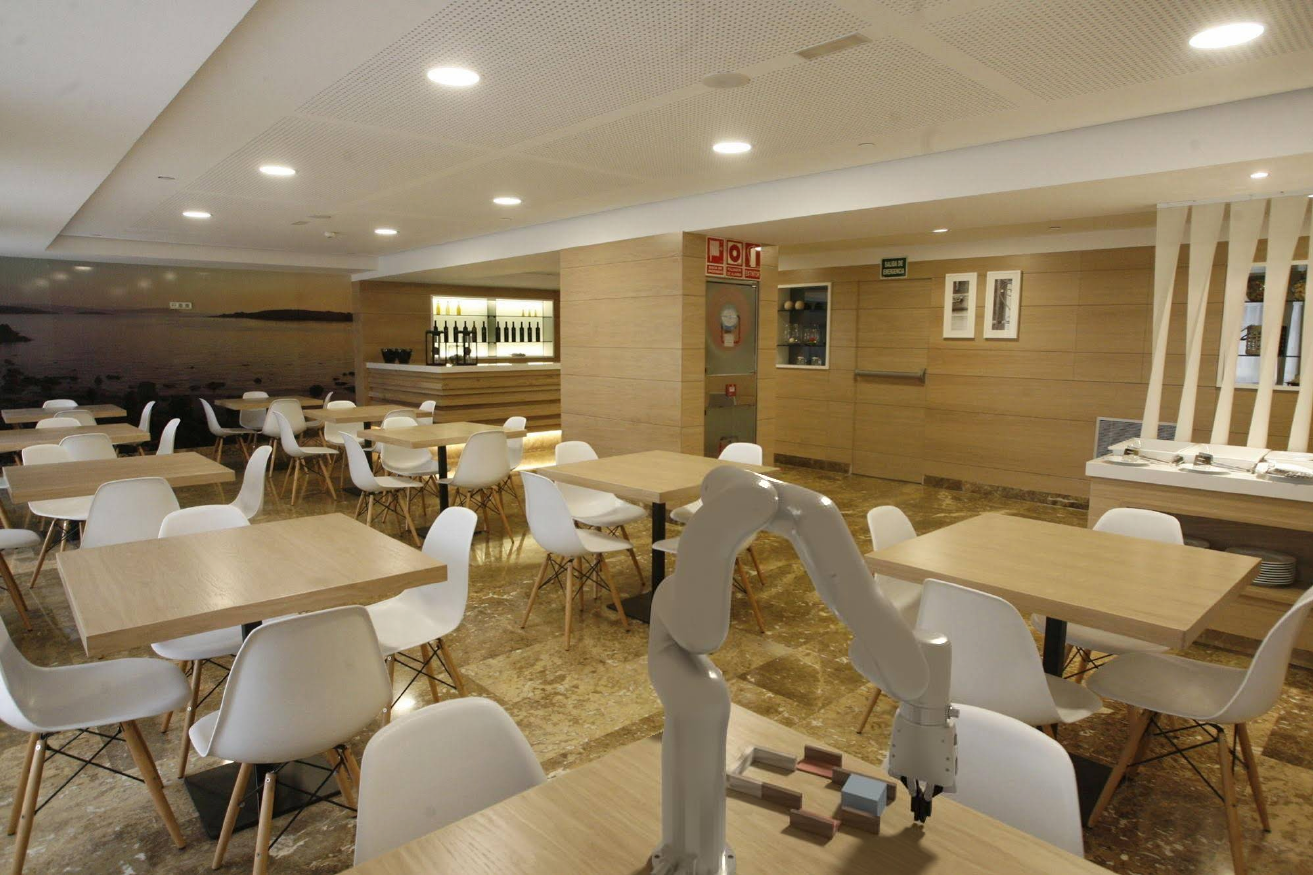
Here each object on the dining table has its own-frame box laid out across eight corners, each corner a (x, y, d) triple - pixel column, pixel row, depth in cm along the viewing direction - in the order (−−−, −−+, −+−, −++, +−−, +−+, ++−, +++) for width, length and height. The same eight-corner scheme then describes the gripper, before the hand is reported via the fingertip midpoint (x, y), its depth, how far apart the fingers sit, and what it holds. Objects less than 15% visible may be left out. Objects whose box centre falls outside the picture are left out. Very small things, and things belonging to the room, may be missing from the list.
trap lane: (870, 851, 116) (870, 836, 116) (712, 800, 130) (712, 786, 130) (902, 783, 135) (903, 770, 134) (761, 745, 148) (761, 732, 148)
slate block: (877, 824, 123) (877, 801, 123) (840, 813, 126) (841, 790, 126) (886, 805, 129) (886, 783, 128) (851, 795, 132) (851, 773, 131)
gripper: (978, 710, 120) (974, 820, 122) (883, 690, 128) (880, 793, 130) (971, 730, 114) (966, 845, 116) (871, 707, 121) (868, 815, 123)
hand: (920, 817), depth 123 cm, fingers closed
